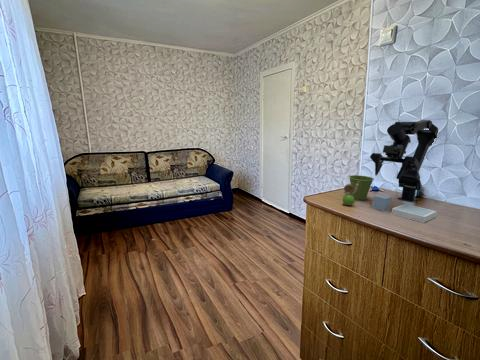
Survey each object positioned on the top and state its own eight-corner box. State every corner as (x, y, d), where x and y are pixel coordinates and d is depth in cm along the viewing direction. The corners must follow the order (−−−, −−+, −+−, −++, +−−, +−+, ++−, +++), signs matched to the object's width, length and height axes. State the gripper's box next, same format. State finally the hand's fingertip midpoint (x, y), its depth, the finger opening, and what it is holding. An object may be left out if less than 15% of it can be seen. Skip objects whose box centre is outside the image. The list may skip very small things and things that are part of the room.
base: (404, 208, 113) (405, 203, 112) (435, 216, 103) (436, 211, 102) (391, 213, 106) (392, 208, 106) (423, 222, 96) (424, 216, 96)
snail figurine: (357, 207, 114) (360, 182, 111) (343, 206, 115) (345, 181, 113) (354, 203, 119) (357, 180, 116) (340, 203, 120) (343, 179, 118)
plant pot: (344, 199, 127) (347, 178, 124) (348, 194, 137) (350, 174, 134) (370, 203, 121) (373, 181, 118) (372, 197, 130) (374, 176, 128)
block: (378, 206, 116) (380, 194, 115) (389, 209, 112) (391, 196, 111) (372, 208, 113) (374, 195, 112) (383, 211, 109) (385, 198, 108)
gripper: (372, 136, 114) (358, 165, 112) (417, 138, 99) (403, 172, 97) (380, 148, 120) (368, 176, 119) (425, 151, 105) (411, 183, 104)
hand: (386, 176), depth 110 cm, fingers open, 9 cm apart
